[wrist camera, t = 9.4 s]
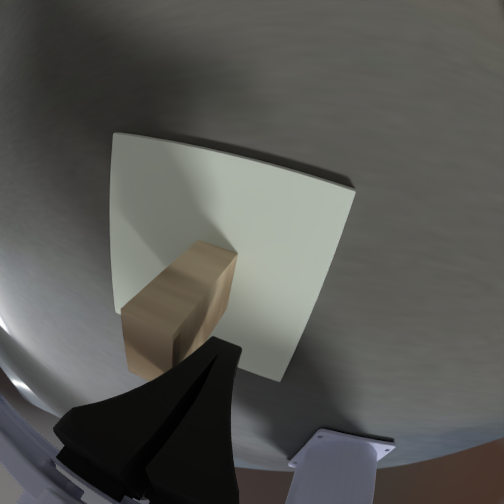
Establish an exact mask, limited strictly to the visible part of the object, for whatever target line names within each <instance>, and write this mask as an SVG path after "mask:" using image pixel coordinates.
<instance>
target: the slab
mask: <svg viewBox="0 0 504 504" xmlns="http://www.w3.org/2000/svg"><path fill="white" fill-rule="evenodd" d="M237 256H238V253H235V252H232V251H230V250H227V249H224V248H221V247H218V246H215V245H212V244H209V243H206V242H203V241H200V240H198V241H197V242H196V243H194V244H193V245H192V246H191V247H190V248H189V249H187V250H186V251H185V252H184V253H183V254H182V255H180V256H179V257H178V258H177V259H176V260H175V261H174V262H172V263H171V264H170V265H169V266H168V267H167V268H166V269H164V270H163V271H162V272H161V273H160V274H159V275H158V276H156V277H155V278H154V279H153V280H152V281H151V282H150V283H149V284H147V285H146V286H145V287H144V288H143V289H142V290H141V291H140V292H139V293H137V294H136V295H135V296H134V297H133V298H132V299H131V300H130V301H129V302H128V303H126V304H125V305H124V306H123V307H122V308H121V309H120V310H121V320H122V329H123V337H124V344H125V351H126V357H127V364H128V369H129V371H131V372H132V373H134V374H136V375H138V376H140V377H142V378H143V379H145V380H147V381H149V382H150V381H151V380H153V379H155V378H157V377H159V376H160V375H162V374H163V373H165V372H167V371H168V370H170V369H171V368H173V367H174V366H176V365H177V364H179V363H180V362H181V361H183V360H184V359H185V358H187V357H188V356H189V355H191V354H192V353H193V352H194V351H196V350H197V349H198V348H199V347H200V346H201V345H203V344H204V343H205V342H206V340H207V339H208V337H209V336H210V334H211V333H212V331H213V330H214V328H215V327H216V325H217V323H218V322H219V320H220V319H221V317H222V316H223V314H224V313H225V311H226V310H227V305H228V300H229V295H230V290H231V285H232V281H233V276H234V271H235V266H236V261H237Z"/></svg>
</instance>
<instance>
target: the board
mask: <svg viewBox="0 0 504 504" xmlns="http://www.w3.org/2000/svg"><path fill="white" fill-rule="evenodd" d="M355 193H356V190H355V189H354V188H351V187H348V186H345V185H342V184H339V183H336V182H333V181H330V180H327V179H323V178H320V177H317V176H314V175H310V174H307V173H304V172H300V171H297V170H294V169H290V168H287V167H283V166H279V165H276V164H272V163H268V162H265V161H261V160H257V159H253V158H249V157H245V156H241V155H237V154H233V153H228V152H224V151H220V150H215V149H211V148H206V147H201V146H196V145H191V144H186V143H181V142H176V141H171V140H165V139H160V138H154V137H148V136H142V135H135V134H129V133H122V132H118V133H113V143H112V156H111V174H110V250H111V268H112V282H113V293H114V303H115V312H116V313H118V314H120V315H121V310H120V309H121V308H122V307H123V306H124V305H125V304H126V303H128V302H129V301H130V300H131V299H132V298H133V297H134V296H135V295H136V294H137V293H139V292H140V291H141V290H142V289H143V288H144V287H145V286H146V285H147V284H149V283H150V282H151V281H152V280H153V279H154V278H155V277H156V276H158V275H159V274H160V273H161V272H162V271H163V270H164V269H166V268H167V267H168V266H169V265H170V264H171V263H172V262H174V261H175V260H176V259H177V258H178V257H179V256H180V255H182V254H183V253H184V252H185V251H186V250H187V249H189V248H190V247H191V246H192V245H193V244H194V243H196V242H197V241H198V240H200V241H203V242H206V243H209V244H212V245H215V246H218V247H221V248H224V249H227V250H230V251H232V252H235V253H238V256H237V261H236V266H235V271H234V276H233V281H232V285H231V290H230V295H229V300H228V305H227V310H226V311H225V313H224V314H223V316H222V317H221V319H220V320H219V322H218V323H217V325H216V327H215V328H214V330H213V331H212V333H211V334H210V336H209V337H208V339H209V338H210V337H212V336H215V337H217V338H220V339H222V340H225V341H227V342H230V343H233V344H235V345H238V346H240V347H241V348H242V353H241V357H240V360H239V364H238V368H241V369H244V370H246V371H249V372H252V373H254V374H257V375H260V376H263V377H266V378H269V379H272V380H275V381H278V382H280V381H281V379H282V377H283V375H284V373H285V371H286V368H287V366H288V364H289V362H290V360H291V358H292V355H293V353H294V351H295V349H296V347H297V344H298V342H299V340H300V338H301V335H302V333H303V331H304V328H305V326H306V324H307V321H308V319H309V317H310V314H311V312H312V309H313V307H314V305H315V302H316V300H317V297H318V295H319V292H320V290H321V287H322V285H323V282H324V280H325V277H326V275H327V272H328V269H329V267H330V264H331V261H332V259H333V256H334V253H335V251H336V248H337V245H338V242H339V240H340V237H341V234H342V231H343V228H344V225H345V223H346V220H347V217H348V214H349V211H350V208H351V205H352V202H353V199H354V196H355ZM208 339H207V340H208ZM207 340H206V341H207Z"/></svg>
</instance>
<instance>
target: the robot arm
mask: <svg viewBox="0 0 504 504" xmlns="http://www.w3.org/2000/svg"><path fill="white" fill-rule="evenodd" d="M241 353H242V348H241V347H240V346H238V345H235V344H233V343H230V342H227V341H225V340H222V339H220V338H217V337H215V336H212V337H210V338H209V339H208V340H207V341H206V342H205V343H204V344H203V345H201V346H200V347H199V348H198V349H197V350H196V351H194V352H193V353H192V354H191V355H189V356H188V357H187V358H185V359H184V360H183V361H181V362H180V363H179V364H177V365H176V366H174V367H173V368H171V369H170V370H168V371H167V372H165V373H163V374H162V375H160V376H159V377H157V378H155V379H153V380H151V381H150V382H148V383H146V384H144V385H142V386H140V387H138V388H135V389H133V390H131V391H129V392H126V393H124V394H121V395H118V396H116V397H112V398H109V399H106V400H103V401H100V402H96V403H92V404H88V405H83V406H78V407H74V408H72V409H71V410H69V411H68V412H67V413H66V414H65V415H64V416H63V417H62V418H61V419H60V420H59V422H58V423H57V424H56V425H55V426H54V427H53V430H54V433H55V434H56V436H57V437H58V438H59V439H60V441H61V442H62V443H63V444H64V445H65V446H64V447H63V448H62V450H61V451H60V450H59V449H57V448H56V447H55V446H54V445H53V444H51V443H50V442H49V441H48V440H47V439H45V438H44V437H43V436H42V435H41V434H40V433H39V432H38V431H37V430H35V429H34V428H33V427H32V426H31V425H30V424H29V423H28V422H27V421H26V420H25V419H24V418H23V417H22V416H21V415H20V414H19V413H18V412H17V411H16V410H15V409H14V408H13V407H12V406H11V405H10V404H9V403H8V402H7V400H6V399H5V398H4V397H3V396H2V395H1V393H0V463H1V464H2V465H3V466H4V468H5V469H6V470H7V471H8V472H9V474H10V475H11V476H12V477H13V478H14V479H15V480H16V481H17V482H18V484H19V485H20V486H21V487H22V488H23V489H24V490H25V491H24V492H23V494H22V495H21V496H20V498H19V499H18V500H17V501H16V503H15V504H87V503H86V502H84V501H83V500H81V497H82V495H83V494H84V491H83V490H82V489H81V488H79V487H78V486H77V485H75V484H74V483H73V482H71V481H70V480H69V479H68V478H67V477H65V476H64V475H63V474H61V473H60V472H59V471H58V470H57V469H56V464H57V465H58V466H60V467H61V468H62V469H63V470H65V471H66V472H67V473H69V474H70V475H71V476H72V477H74V478H75V479H77V480H78V481H79V482H81V483H82V484H83V485H85V486H86V487H88V488H89V489H91V490H92V491H94V492H95V493H97V494H98V495H100V496H101V497H103V498H105V499H106V500H108V501H109V502H111V503H112V504H140V503H138V502H137V501H135V500H133V498H135V499H137V500H139V501H140V500H147V499H148V500H149V501H150V503H149V504H239V490H238V485H237V480H236V474H235V468H234V461H233V452H232V441H231V399H232V389H233V381H234V377H235V374H236V371H237V367H238V364H239V360H240V357H241ZM394 448H395V443H393V442H386V441H380V440H374V439H369V438H364V437H358V436H354V435H349V434H344V433H340V432H336V431H331V430H327V429H319V430H318V431H317V432H316V433H315V434H314V435H313V436H312V437H311V439H310V440H309V441H308V442H307V443H306V444H305V445H304V446H303V447H302V448H301V450H300V451H299V452H298V453H297V454H296V455H295V456H294V457H293V458H292V459H291V460H290V461H289V463H288V465H289V466H290V467H294V468H296V469H295V473H294V477H293V480H292V483H291V487H290V490H289V494H288V497H287V500H286V503H285V504H372V502H373V494H374V486H375V477H376V466H377V461H378V460H380V459H381V458H382V457H384V456H385V455H386V454H388V453H389V452H390V451H392V450H393V449H394ZM54 462H55V463H56V464H55V463H54Z"/></svg>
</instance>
